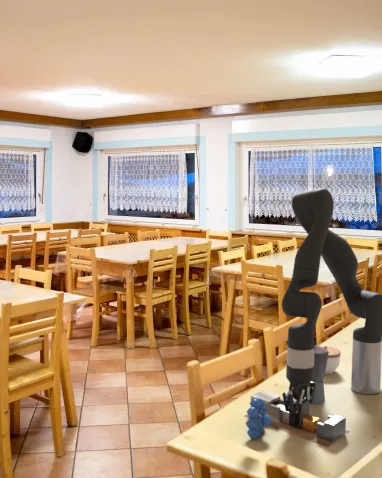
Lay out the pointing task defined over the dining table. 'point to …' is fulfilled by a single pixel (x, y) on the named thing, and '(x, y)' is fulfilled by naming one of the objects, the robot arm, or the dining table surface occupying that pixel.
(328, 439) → the socket
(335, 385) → the dining table surface
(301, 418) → the grey block
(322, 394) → the moka pot
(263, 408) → the grapes
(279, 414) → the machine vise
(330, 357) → the lidded jar
